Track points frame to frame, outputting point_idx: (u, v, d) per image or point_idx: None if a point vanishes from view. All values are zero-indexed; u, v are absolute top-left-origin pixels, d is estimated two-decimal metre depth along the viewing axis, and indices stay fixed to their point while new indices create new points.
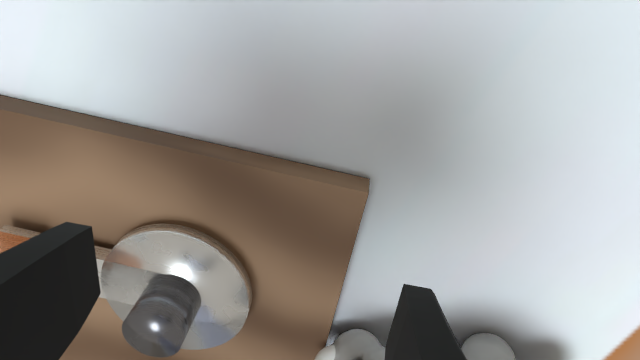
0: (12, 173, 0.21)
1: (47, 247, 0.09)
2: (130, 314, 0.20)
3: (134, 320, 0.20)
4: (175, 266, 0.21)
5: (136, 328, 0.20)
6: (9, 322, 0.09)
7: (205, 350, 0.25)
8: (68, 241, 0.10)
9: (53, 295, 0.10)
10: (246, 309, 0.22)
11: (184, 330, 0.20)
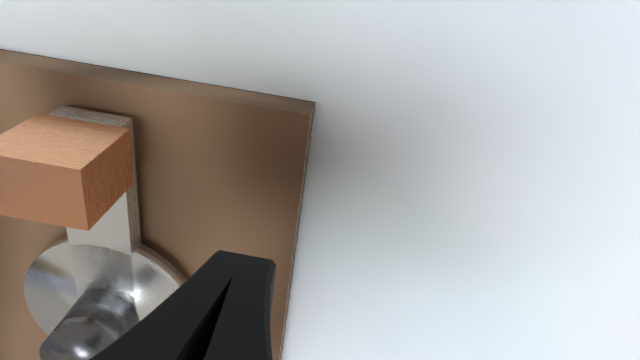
0: (215, 139, 0.16)
1: (219, 279, 0.09)
2: (96, 347, 0.17)
3: (89, 352, 0.17)
4: None
5: (78, 351, 0.17)
6: (199, 359, 0.08)
7: (22, 298, 0.21)
8: (235, 272, 0.10)
9: None
10: None
11: None
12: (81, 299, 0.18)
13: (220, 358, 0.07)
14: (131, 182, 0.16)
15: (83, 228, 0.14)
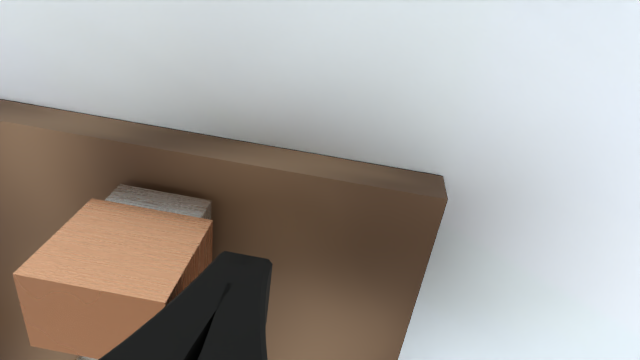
0: (315, 224, 0.13)
1: (225, 280, 0.09)
2: None
3: None
4: None
5: None
6: None
7: None
8: (240, 273, 0.10)
9: None
10: None
11: None
12: None
13: (215, 357, 0.07)
14: None
15: None
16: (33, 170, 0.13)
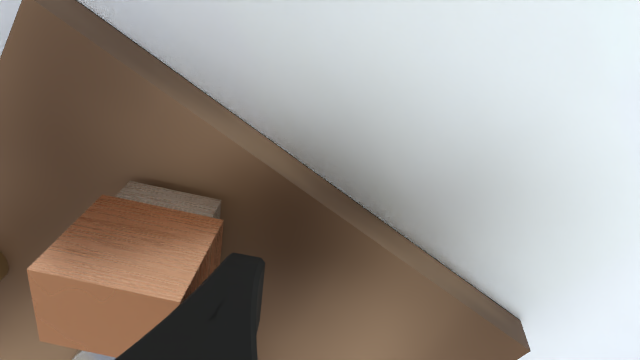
0: (416, 323, 0.14)
1: (234, 282, 0.09)
2: None
3: None
4: None
5: None
6: None
7: (39, 341, 0.16)
8: (249, 275, 0.10)
9: None
10: None
11: None
12: None
13: (204, 355, 0.07)
14: None
15: None
16: (193, 167, 0.12)
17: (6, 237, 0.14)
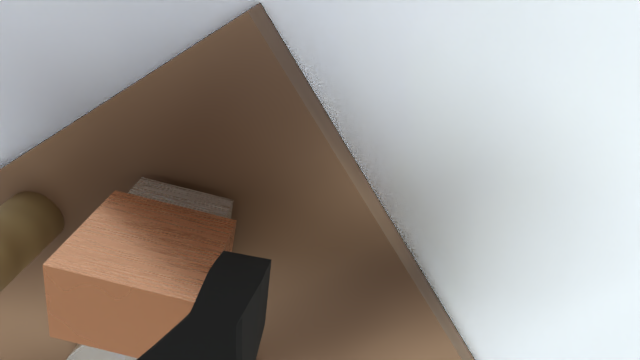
0: None
1: (249, 285, 0.09)
2: None
3: None
4: None
5: None
6: None
7: None
8: (263, 277, 0.10)
9: (250, 333, 0.09)
10: None
11: None
12: None
13: (188, 352, 0.07)
14: None
15: None
16: (316, 215, 0.13)
17: (77, 205, 0.13)
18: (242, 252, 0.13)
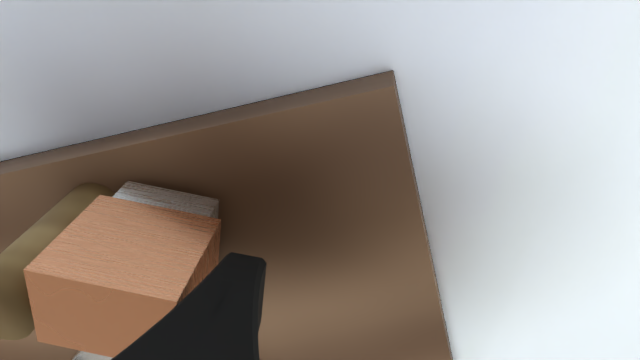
0: None
1: (233, 282, 0.09)
2: None
3: None
4: None
5: None
6: None
7: None
8: (248, 275, 0.10)
9: None
10: None
11: None
12: None
13: (206, 355, 0.07)
14: None
15: None
16: (383, 273, 0.13)
17: None
18: (297, 288, 0.14)
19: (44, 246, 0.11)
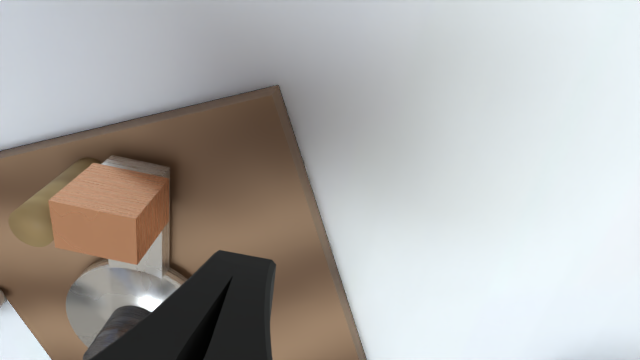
0: (325, 348, 0.23)
1: (219, 279, 0.09)
2: None
3: None
4: None
5: None
6: (199, 359, 0.08)
7: None
8: (235, 272, 0.10)
9: None
10: None
11: None
12: (116, 313, 0.22)
13: (220, 358, 0.07)
14: (167, 220, 0.19)
15: (133, 262, 0.17)
16: (280, 217, 0.20)
17: None
18: (226, 229, 0.20)
19: None
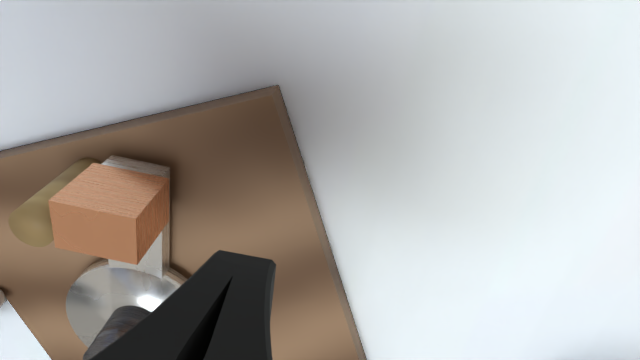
0: (325, 348, 0.23)
1: (219, 279, 0.09)
2: None
3: None
4: None
5: None
6: (199, 359, 0.08)
7: None
8: (235, 272, 0.10)
9: None
10: None
11: None
12: (116, 313, 0.22)
13: (220, 358, 0.07)
14: (167, 220, 0.19)
15: (133, 262, 0.17)
16: (280, 217, 0.20)
17: None
18: (226, 229, 0.20)
19: None
